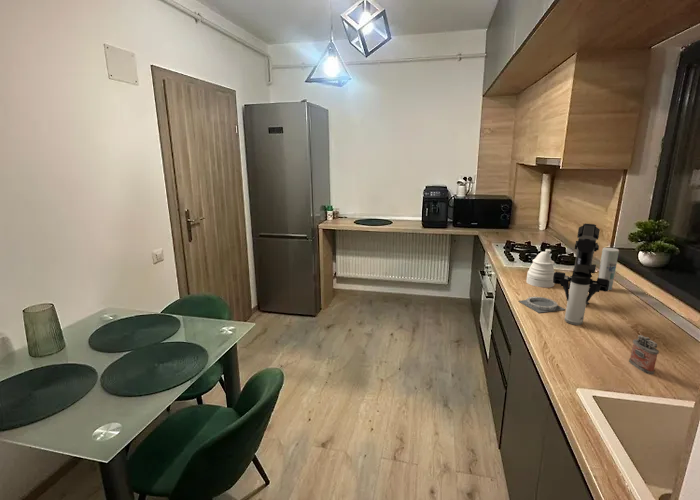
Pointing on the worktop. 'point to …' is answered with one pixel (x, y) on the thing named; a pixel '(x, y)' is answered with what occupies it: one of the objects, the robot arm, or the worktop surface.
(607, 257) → the spray can
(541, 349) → the worktop surface
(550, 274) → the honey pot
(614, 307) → the worktop surface
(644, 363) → the red and grey container
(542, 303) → the base mat
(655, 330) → the worktop surface
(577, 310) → the travel mug
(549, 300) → the metal collar
